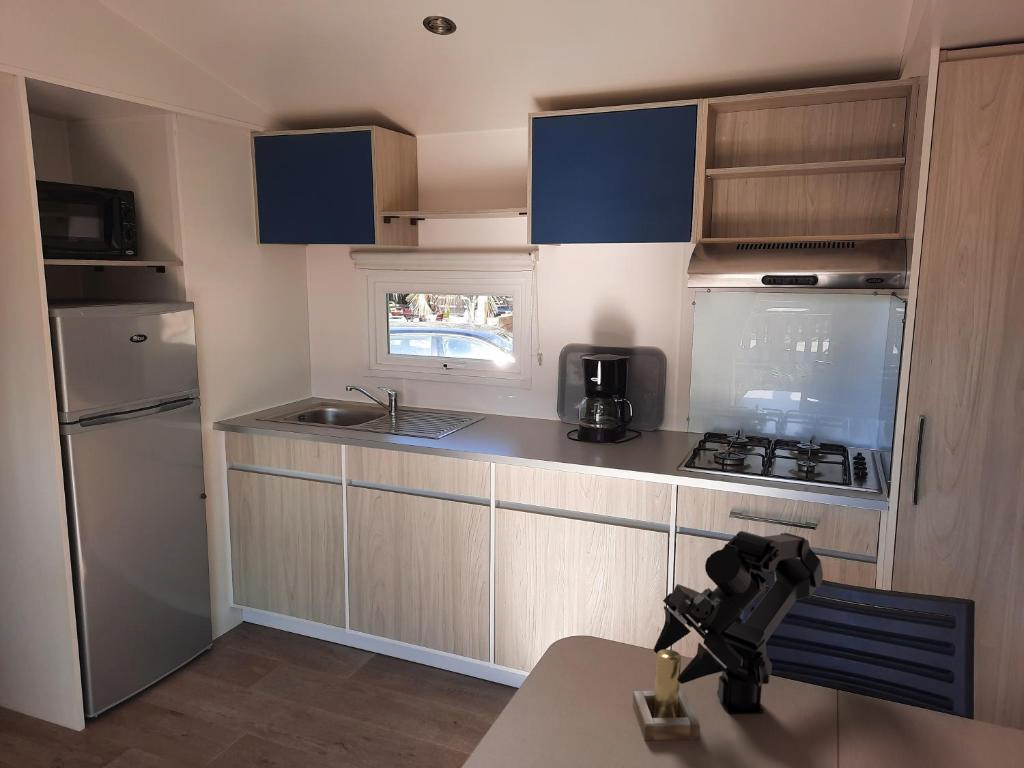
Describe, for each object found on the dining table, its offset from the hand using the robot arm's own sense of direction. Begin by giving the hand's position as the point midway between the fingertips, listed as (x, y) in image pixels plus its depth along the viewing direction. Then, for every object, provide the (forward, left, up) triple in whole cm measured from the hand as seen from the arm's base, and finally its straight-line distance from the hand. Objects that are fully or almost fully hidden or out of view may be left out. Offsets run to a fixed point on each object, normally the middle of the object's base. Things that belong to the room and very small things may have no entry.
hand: (666, 666), depth 124 cm
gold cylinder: (0, 0, -10) cm, 10 cm away
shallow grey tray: (0, 0, -10) cm, 10 cm away
